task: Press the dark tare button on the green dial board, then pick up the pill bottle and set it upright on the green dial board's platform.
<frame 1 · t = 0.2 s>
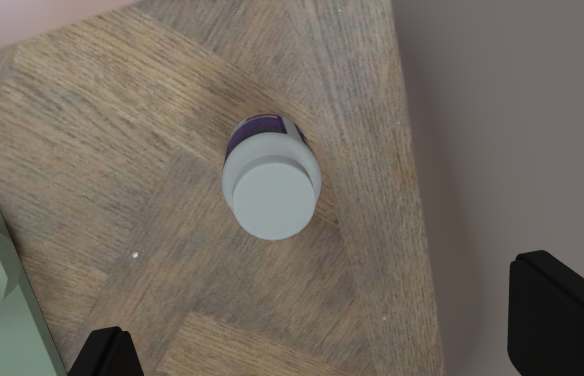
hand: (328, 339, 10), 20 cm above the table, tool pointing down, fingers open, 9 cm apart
pill bottle: (267, 149, 29), on the table
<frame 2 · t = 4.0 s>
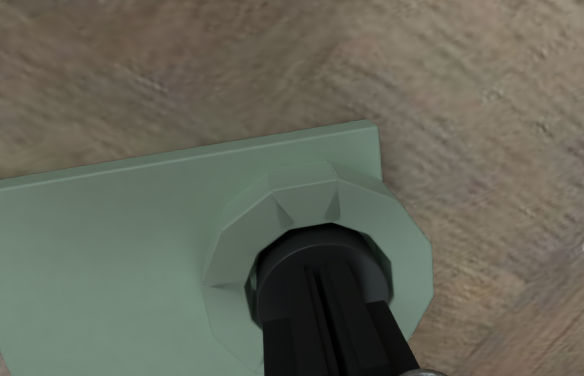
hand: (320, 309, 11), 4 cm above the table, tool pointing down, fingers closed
green dial board: (217, 355, 16), on the table
tare button: (319, 286, 12), point 3 cm above the table, slide at -0.7 cm, touching gripper
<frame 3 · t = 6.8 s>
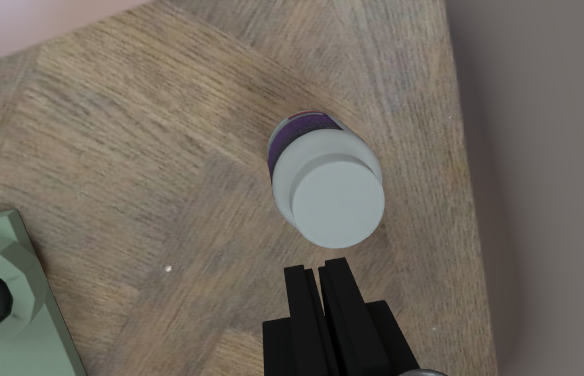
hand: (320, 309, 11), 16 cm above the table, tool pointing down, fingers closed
pill bottle: (308, 150, 27), on the table
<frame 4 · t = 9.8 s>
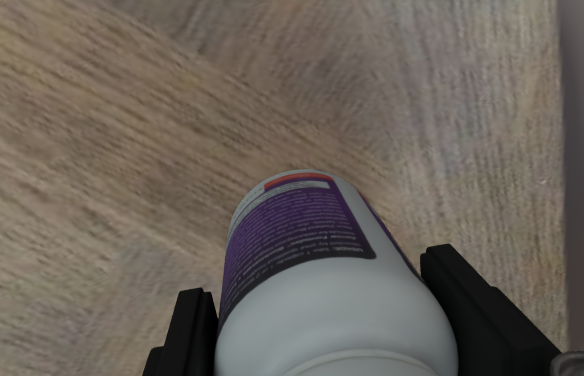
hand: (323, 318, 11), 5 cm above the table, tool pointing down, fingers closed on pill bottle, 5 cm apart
pill bottle: (301, 233, 16), on the table, touching gripper
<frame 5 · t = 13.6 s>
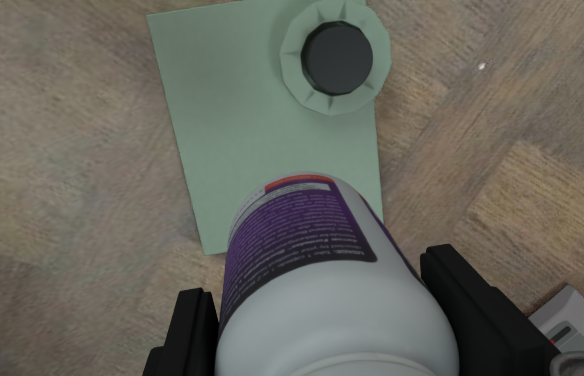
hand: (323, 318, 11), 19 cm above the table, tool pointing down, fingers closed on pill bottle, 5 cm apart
green dial board: (276, 127, 29), on the table
tare button: (338, 59, 24), point 3 cm above the table, slide at 0.1 cm
remote control: (531, 348, 37), on the table
pill bottle: (302, 235, 16), point 14 cm above the table, touching gripper
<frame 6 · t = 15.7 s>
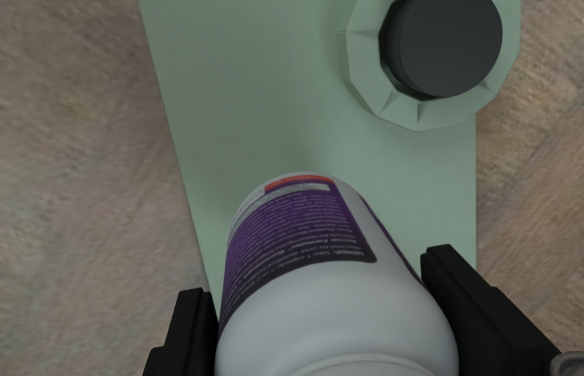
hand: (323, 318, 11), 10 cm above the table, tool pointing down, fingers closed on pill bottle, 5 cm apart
green dial board: (326, 146, 20), on the table
tare button: (440, 42, 15), point 3 cm above the table, slide at 0.1 cm
pill bottle: (301, 235, 16), point 5 cm above the table, touching gripper
when the fingers open (6 cm above the table, at t = 17.3 s): pill bottle stays where it is, resting on green dial board.
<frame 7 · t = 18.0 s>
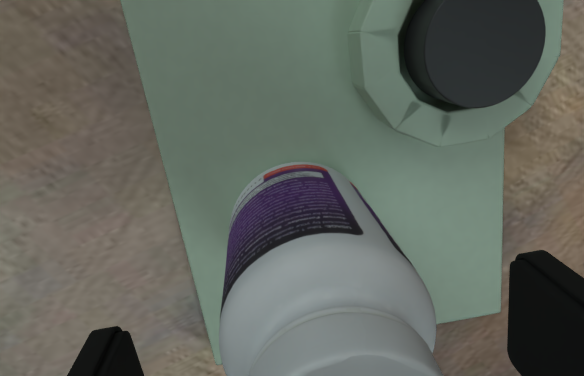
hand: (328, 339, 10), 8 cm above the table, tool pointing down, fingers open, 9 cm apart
green dial board: (335, 161, 17), on the table
tare button: (470, 44, 13), point 3 cm above the table, slide at 0.1 cm
pill bottle: (298, 222, 17), point 1 cm above the table, touching green dial board
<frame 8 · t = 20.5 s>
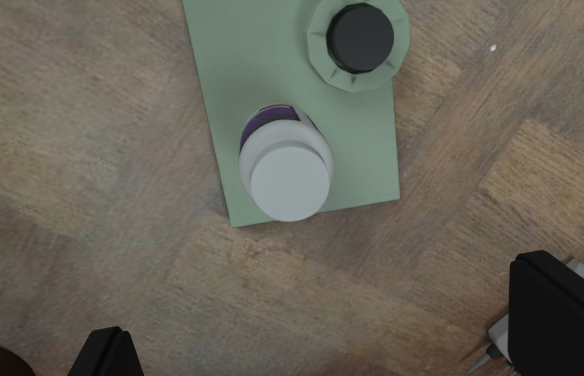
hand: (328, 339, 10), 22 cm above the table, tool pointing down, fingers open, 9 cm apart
green dial board: (300, 106, 31), on the table
tare button: (361, 39, 26), point 3 cm above the table, slide at 0.1 cm
remote control: (538, 320, 39), on the table
pill bottle: (278, 140, 30), point 1 cm above the table, touching green dial board
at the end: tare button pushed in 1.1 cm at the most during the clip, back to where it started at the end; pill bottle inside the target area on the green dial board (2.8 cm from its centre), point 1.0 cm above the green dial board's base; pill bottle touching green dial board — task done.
